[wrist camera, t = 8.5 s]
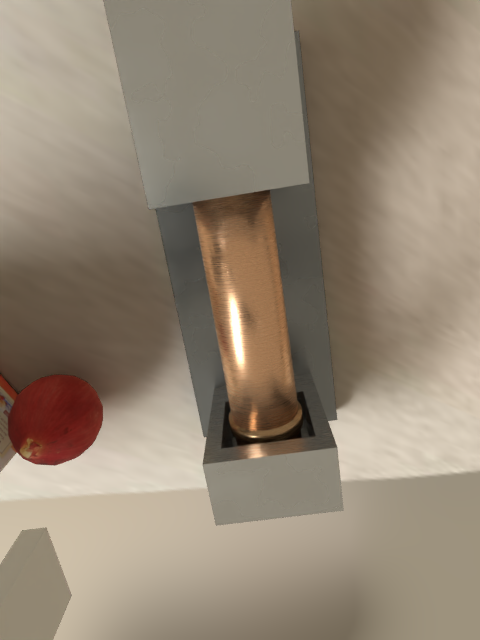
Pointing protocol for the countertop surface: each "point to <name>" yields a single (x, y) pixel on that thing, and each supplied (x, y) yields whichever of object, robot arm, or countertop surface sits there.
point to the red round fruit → (55, 419)
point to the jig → (228, 180)
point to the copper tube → (249, 316)
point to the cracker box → (5, 422)
